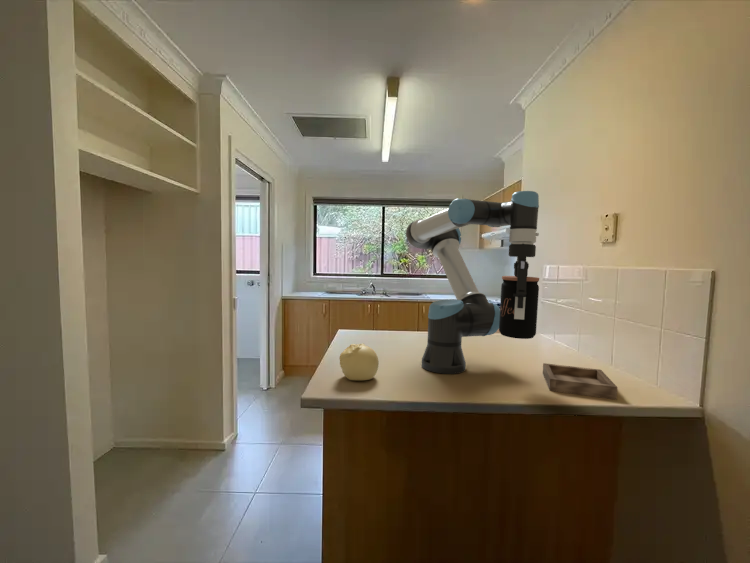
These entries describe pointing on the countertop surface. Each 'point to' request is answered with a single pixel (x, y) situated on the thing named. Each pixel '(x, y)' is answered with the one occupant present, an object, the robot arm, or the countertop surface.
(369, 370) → the sculpture
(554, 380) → the wooden tray
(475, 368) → the countertop surface
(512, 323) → the coffee jar
